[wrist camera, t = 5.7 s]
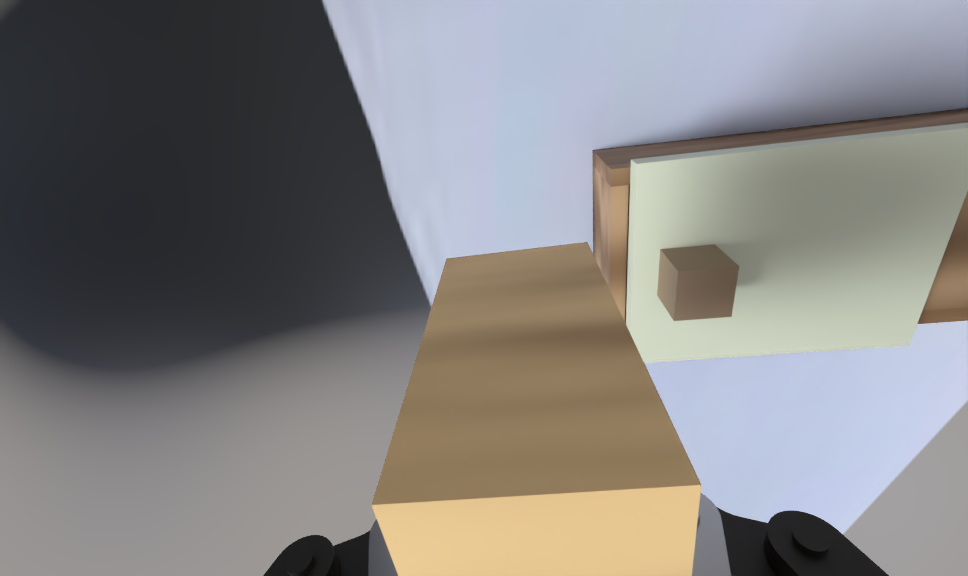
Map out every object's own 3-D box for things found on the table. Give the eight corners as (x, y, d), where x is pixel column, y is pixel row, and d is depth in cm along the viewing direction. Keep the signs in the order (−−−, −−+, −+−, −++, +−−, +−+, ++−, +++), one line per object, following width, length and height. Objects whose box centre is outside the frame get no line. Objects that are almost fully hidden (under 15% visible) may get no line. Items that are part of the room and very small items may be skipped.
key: (446, 258, 13) (372, 505, 6) (587, 242, 12) (701, 484, 5) (489, 477, 17) (477, 785, 10) (596, 470, 16) (669, 786, 9)
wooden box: (592, 150, 30) (611, 169, 25) (977, 107, 28) (1088, 117, 23) (593, 303, 36) (609, 345, 30) (916, 277, 33) (995, 318, 28)
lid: (630, 159, 24) (653, 177, 21) (969, 122, 23) (1060, 134, 19) (625, 353, 30) (641, 394, 26) (894, 334, 28) (952, 375, 25)
